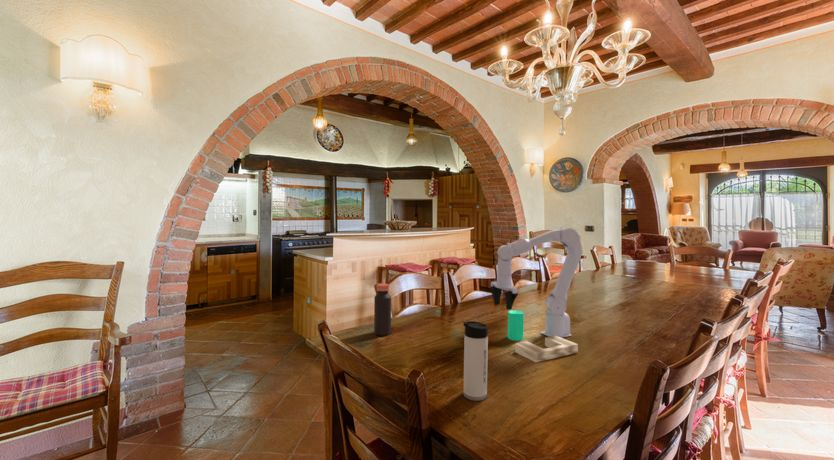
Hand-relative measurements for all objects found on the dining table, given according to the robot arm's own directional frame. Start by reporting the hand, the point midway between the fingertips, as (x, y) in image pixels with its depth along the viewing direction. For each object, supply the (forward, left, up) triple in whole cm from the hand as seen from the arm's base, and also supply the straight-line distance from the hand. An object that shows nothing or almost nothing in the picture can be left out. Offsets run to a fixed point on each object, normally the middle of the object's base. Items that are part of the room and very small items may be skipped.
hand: (502, 306), depth 149 cm
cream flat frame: (0, +24, -11) cm, 26 cm away
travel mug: (+41, +38, -11) cm, 57 cm away
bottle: (+46, -19, -11) cm, 51 cm away
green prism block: (0, +8, -11) cm, 13 cm away
